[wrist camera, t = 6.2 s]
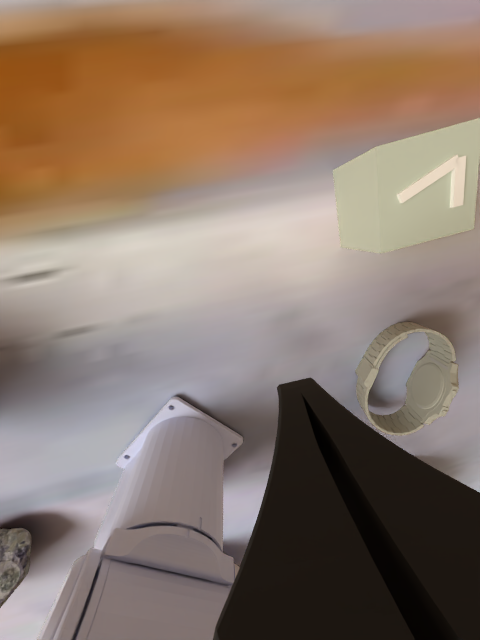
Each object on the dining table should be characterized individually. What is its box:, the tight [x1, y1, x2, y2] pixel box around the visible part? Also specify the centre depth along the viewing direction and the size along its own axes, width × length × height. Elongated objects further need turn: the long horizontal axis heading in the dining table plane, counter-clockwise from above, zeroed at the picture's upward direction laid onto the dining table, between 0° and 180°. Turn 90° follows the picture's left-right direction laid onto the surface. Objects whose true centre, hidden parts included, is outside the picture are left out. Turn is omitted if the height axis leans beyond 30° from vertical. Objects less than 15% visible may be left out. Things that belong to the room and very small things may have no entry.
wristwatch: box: [355, 322, 459, 436], centre depth 19 cm, size 9×6×5 cm
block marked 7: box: [333, 118, 480, 254], centre depth 15 cm, size 5×5×5 cm
